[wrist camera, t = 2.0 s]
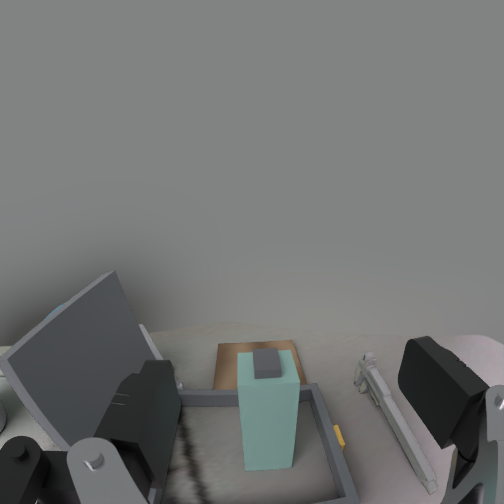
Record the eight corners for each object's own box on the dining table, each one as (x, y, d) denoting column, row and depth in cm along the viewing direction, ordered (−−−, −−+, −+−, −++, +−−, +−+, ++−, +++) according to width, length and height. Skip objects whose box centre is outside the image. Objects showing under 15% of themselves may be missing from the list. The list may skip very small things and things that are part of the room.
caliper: (352, 385, 34) (359, 347, 33) (359, 383, 34) (367, 346, 33) (428, 496, 14) (456, 461, 13) (436, 491, 15) (465, 455, 13)
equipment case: (92, 504, 15) (-7, 355, 10) (137, 392, 33) (107, 268, 29) (361, 508, 15) (433, 356, 11) (318, 389, 34) (328, 259, 30)
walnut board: (213, 396, 33) (213, 390, 33) (219, 348, 45) (218, 343, 45) (306, 390, 34) (307, 385, 34) (292, 345, 45) (292, 339, 45)
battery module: (245, 471, 22) (236, 377, 19) (244, 439, 26) (237, 345, 23) (291, 467, 22) (300, 373, 19) (286, 436, 26) (290, 341, 23)
